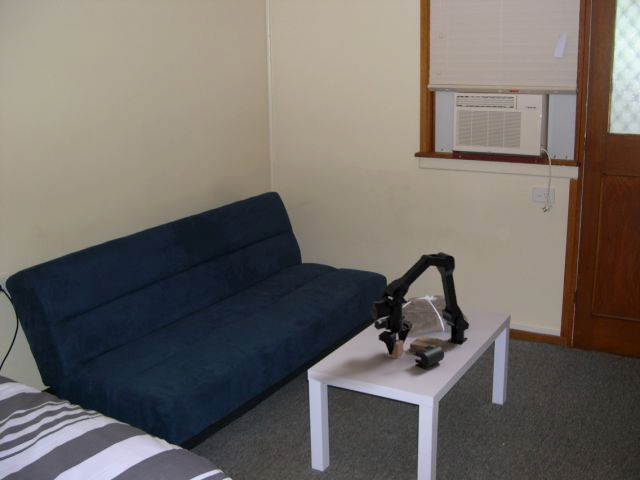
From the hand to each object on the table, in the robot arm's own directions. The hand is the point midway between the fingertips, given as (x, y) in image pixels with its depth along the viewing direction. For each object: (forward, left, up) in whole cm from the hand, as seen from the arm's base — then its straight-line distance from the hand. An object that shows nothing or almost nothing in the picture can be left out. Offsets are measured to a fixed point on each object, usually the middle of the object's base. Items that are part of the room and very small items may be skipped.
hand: (395, 350), depth 310 cm
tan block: (-12, +8, -2) cm, 14 cm away
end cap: (+2, +16, -2) cm, 16 cm away
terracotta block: (0, 0, -2) cm, 2 cm away
